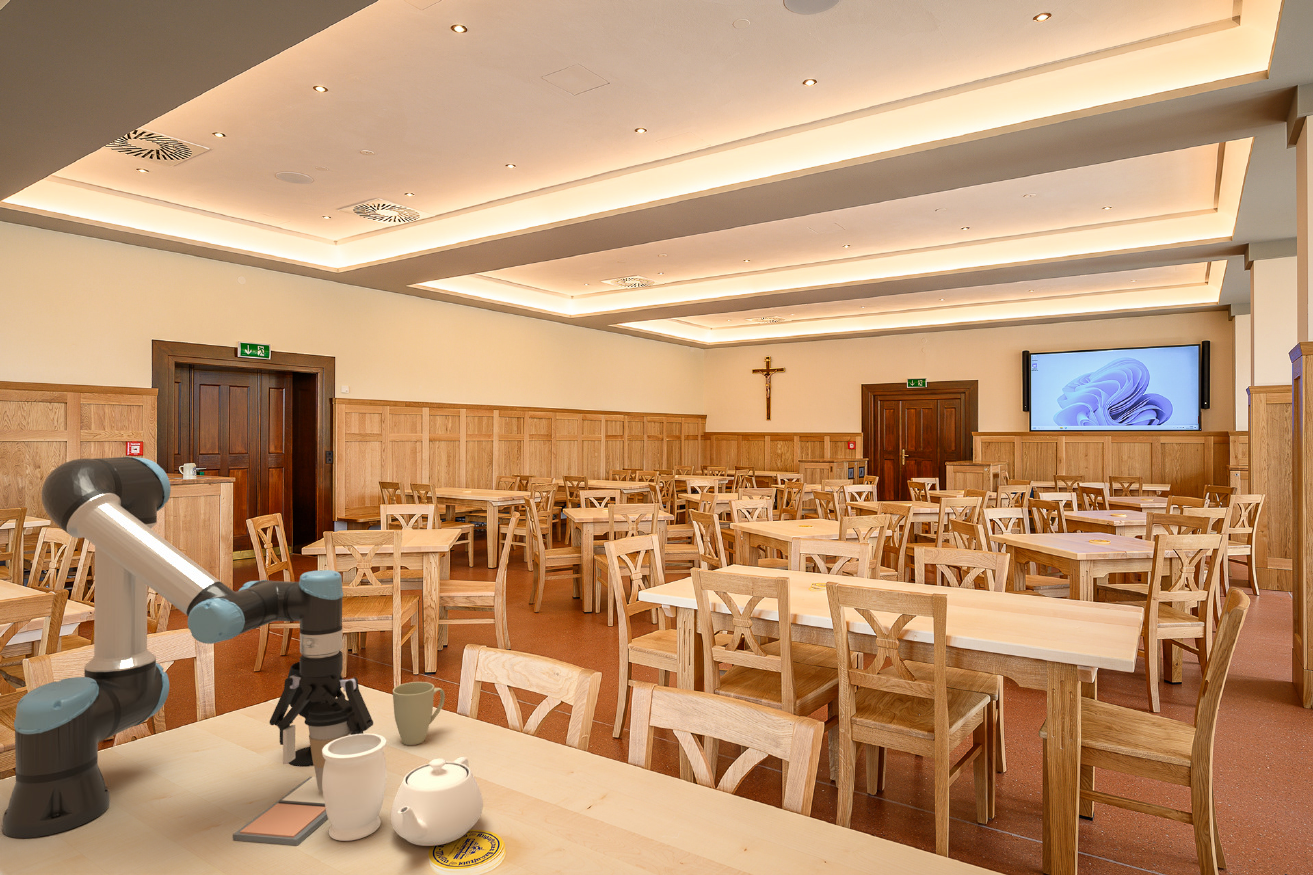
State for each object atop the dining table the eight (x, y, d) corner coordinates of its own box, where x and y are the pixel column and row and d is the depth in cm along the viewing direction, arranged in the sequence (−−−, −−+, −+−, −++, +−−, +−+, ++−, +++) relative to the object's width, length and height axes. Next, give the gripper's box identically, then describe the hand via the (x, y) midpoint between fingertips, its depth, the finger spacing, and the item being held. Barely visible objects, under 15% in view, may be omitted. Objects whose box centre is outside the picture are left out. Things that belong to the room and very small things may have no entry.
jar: (346, 851, 125) (346, 762, 124) (309, 834, 130) (309, 748, 130) (399, 823, 134) (399, 740, 133) (362, 808, 139) (362, 728, 139)
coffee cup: (341, 797, 138) (338, 716, 138) (296, 795, 140) (292, 715, 140) (370, 774, 147) (367, 698, 147) (327, 772, 149) (324, 697, 149)
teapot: (427, 795, 144) (427, 731, 144) (503, 801, 142) (503, 737, 142) (354, 869, 120) (354, 792, 120) (445, 878, 117) (445, 800, 117)
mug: (431, 749, 166) (431, 694, 166) (386, 748, 166) (386, 694, 166) (445, 729, 176) (445, 678, 176) (403, 729, 177) (403, 678, 177)
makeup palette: (232, 839, 128) (232, 831, 128) (310, 781, 150) (310, 773, 150) (297, 845, 126) (297, 836, 126) (365, 785, 148) (365, 777, 148)
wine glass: (349, 753, 163) (349, 661, 163) (304, 771, 155) (304, 674, 155) (320, 742, 169) (320, 654, 169) (276, 759, 160) (276, 666, 160)
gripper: (249, 655, 142) (249, 767, 142) (371, 661, 138) (371, 776, 138) (274, 644, 149) (274, 751, 149) (391, 649, 146) (391, 758, 146)
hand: (321, 763), depth 144 cm, fingers open, 13 cm apart
